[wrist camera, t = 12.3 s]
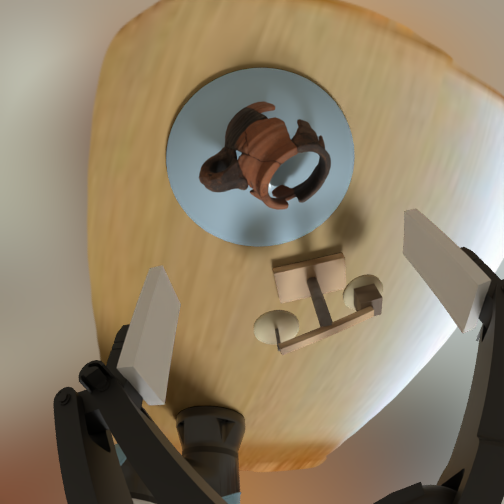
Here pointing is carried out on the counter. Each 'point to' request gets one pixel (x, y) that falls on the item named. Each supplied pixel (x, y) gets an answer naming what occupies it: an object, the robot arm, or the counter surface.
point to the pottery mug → (264, 157)
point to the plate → (213, 140)
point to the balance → (317, 301)
